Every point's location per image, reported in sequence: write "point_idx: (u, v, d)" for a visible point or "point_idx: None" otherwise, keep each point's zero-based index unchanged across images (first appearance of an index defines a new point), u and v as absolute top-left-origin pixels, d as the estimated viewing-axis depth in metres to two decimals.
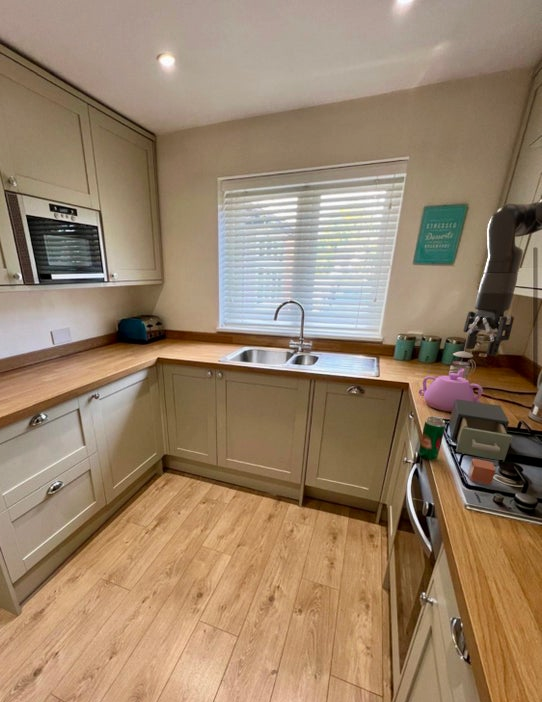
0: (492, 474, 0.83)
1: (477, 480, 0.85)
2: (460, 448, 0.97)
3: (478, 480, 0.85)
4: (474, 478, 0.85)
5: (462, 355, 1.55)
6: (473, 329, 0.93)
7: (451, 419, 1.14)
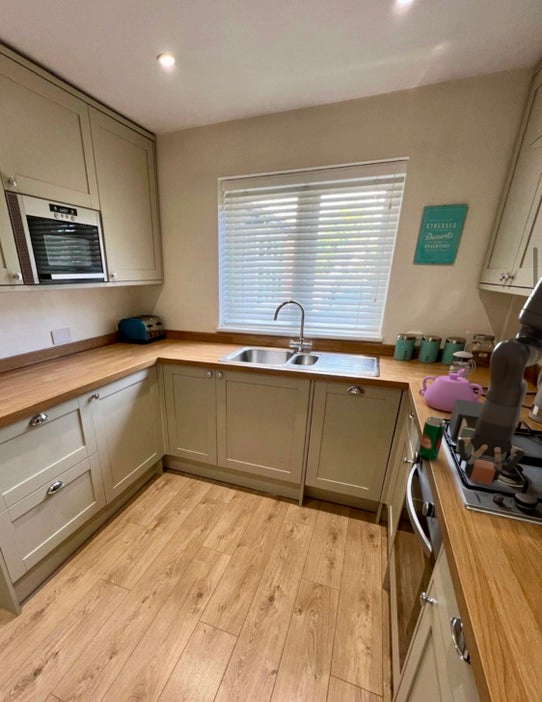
0: (492, 474, 0.83)
1: (477, 480, 0.85)
2: None
3: (478, 480, 0.85)
4: (474, 478, 0.85)
5: (462, 355, 1.55)
6: None
7: (451, 419, 1.14)
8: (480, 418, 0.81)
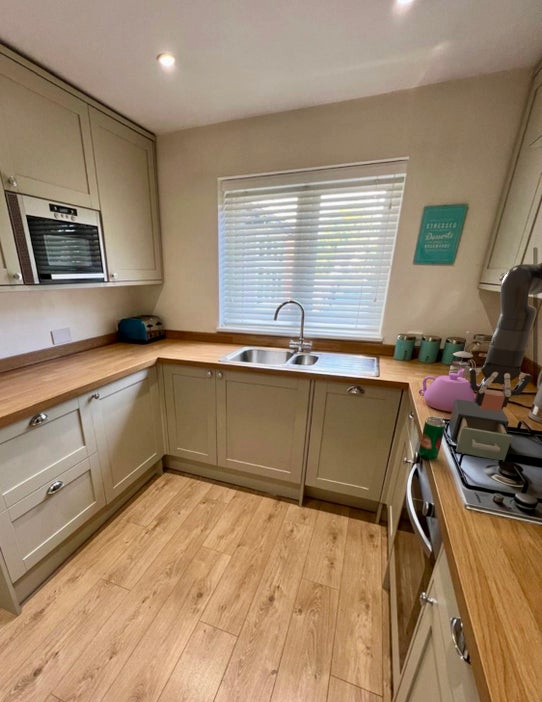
0: (501, 400, 0.89)
1: (487, 407, 0.91)
2: (460, 448, 0.97)
3: (488, 407, 0.91)
4: (484, 406, 0.91)
5: (462, 355, 1.55)
6: None
7: (451, 419, 1.14)
8: (491, 346, 0.87)
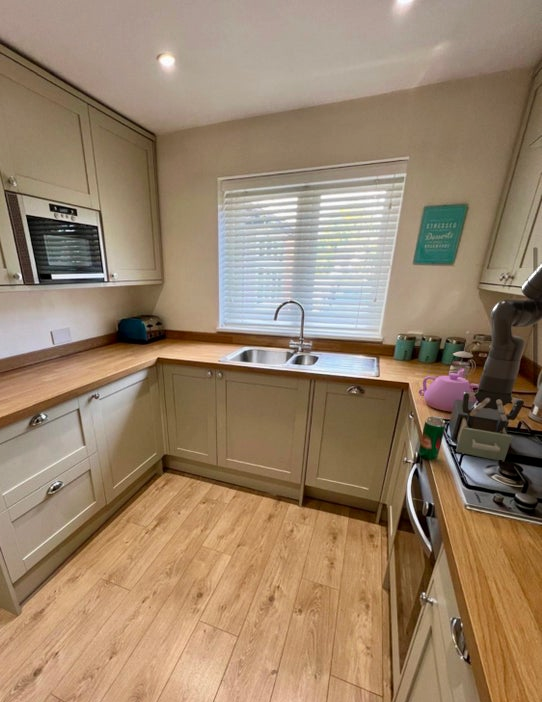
0: None
1: None
2: (460, 448, 0.97)
3: None
4: None
5: (462, 355, 1.55)
6: None
7: (451, 419, 1.14)
8: (483, 374, 0.92)
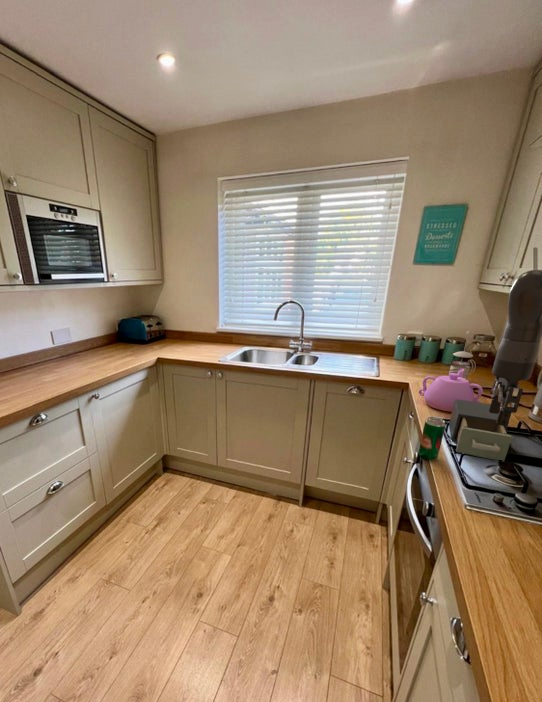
0: None
1: None
2: (460, 448, 0.97)
3: None
4: None
5: (462, 355, 1.55)
6: (494, 393, 0.87)
7: (451, 419, 1.14)
8: None
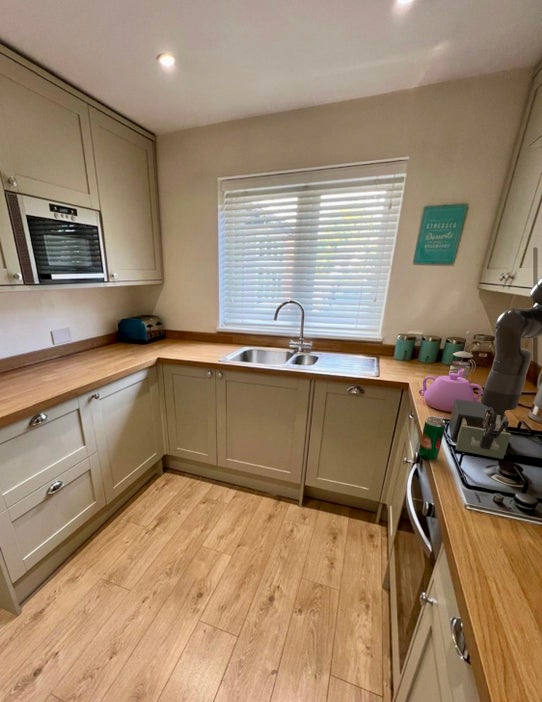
0: None
1: None
2: (460, 446, 0.98)
3: None
4: None
5: (462, 355, 1.55)
6: None
7: (451, 419, 1.14)
8: None
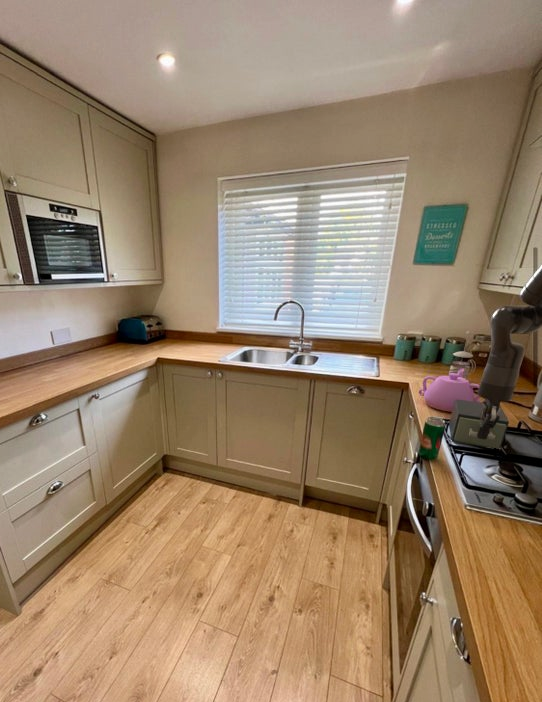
0: None
1: None
2: (458, 437, 1.04)
3: None
4: None
5: (462, 355, 1.55)
6: None
7: (451, 419, 1.14)
8: None
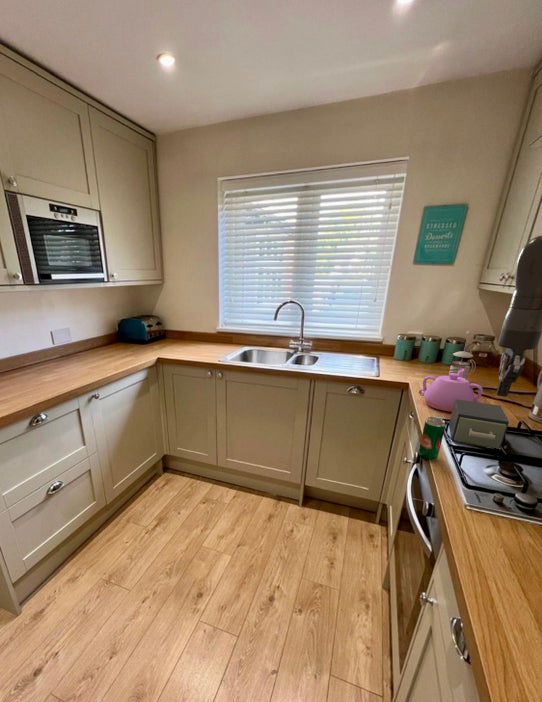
0: None
1: None
2: (458, 437, 1.04)
3: None
4: None
5: (462, 355, 1.55)
6: None
7: (451, 419, 1.14)
8: None
